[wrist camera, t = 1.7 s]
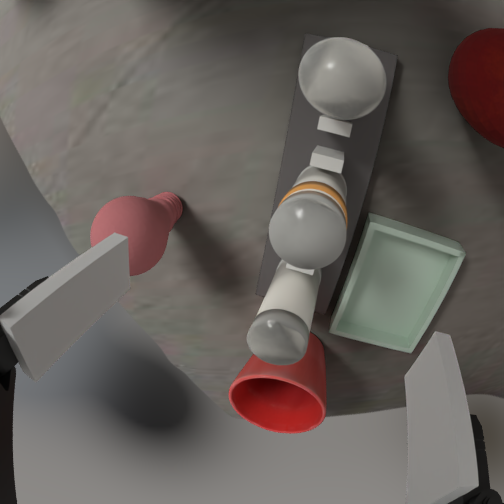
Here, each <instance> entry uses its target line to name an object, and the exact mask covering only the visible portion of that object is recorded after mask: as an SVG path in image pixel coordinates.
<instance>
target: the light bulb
mask: <svg viewBox="0 0 504 504" xmlns="http://www.w3.org/2000/svg"><path fill="white" fill-rule="evenodd" d="M182 210H183V208H182V203H181V201H180V199H179V198H178V197H177V196H176V195H175V194H173V193H171V192H163V193H161V194H159V195H156V196H155V197H153V198H149V199H146V198H142V197H136V196H123V197H119V198H116V199H114V200H112V201H110V202H108V203H107V204H106V205H104V206H103V207H102V208H101V209H100V211H99V212H98V213H97V215H96V217H95V219H94V221H93V224H92V228H91V235H90V236H91V245H92V247H93V246H95V245H96V244H98V243H99V242H101V241H102V240H104V239H105V238H107V237H109V236H110V235H112V234H113V233H117V234H120V235H123V236H126V237H128V251H129V273H130V276H134V275H139V274H142V273H145V272H146V271H148V270H150V269H151V268H152V267H154V266H155V265H156V264H157V262H158V261H159V260H160V259H161V257H162V255H163V254H164V251H165V248H166V245H167V240H168V236H169V232H170V231H171V229H172V228H173V225H174V224H175V223H176V221H177V220H178V219H179V218H180V217H181V215H182Z"/></svg>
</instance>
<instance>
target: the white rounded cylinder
mask: <svg viewBox="0 0 504 504" xmlns="http://www.w3.org/2000/svg"><path fill="white" fill-rule="evenodd" d="M298 76H299V84H300V87H301V90H302V92H303V95H304V96H305V98H306V99H307V101H308V102H309V103H310V104H311V105H312V106H313V107H314V108H315V109H316V110H318V111H319V112H321V113H322V114H324V115H327V116H329V117H332V118H335V119H341V120H352V119H357V118H360V117H363V116H365V115H367V114H369V113H370V112H372V111H373V110H374V109H375V108H376V107H377V106H378V105H379V104H380V102H381V101H382V99H383V97H384V94H385V91H386V73H385V70H384V67H383V65H382V62H381V61H380V59H379V58H378V56H377V55H376V54H375V53H374V52H373V51H372V50H371V49H370V48H369V47H367V46H366V45H364V44H363V43H361V42H359V41H356V40H353V39H350V38H345V37H333V38H328V39H325V40H322V41H320V42H318V43H316V44H315V45H313V46H312V47H311V48H310V49H309V50H308V51H307V52H306V53H305V55H304V56H303V58H302V60H301V63H300V66H299V73H298Z"/></svg>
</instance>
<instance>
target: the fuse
mask: <svg viewBox="0 0 504 504" xmlns="http://www.w3.org/2000/svg"><path fill="white" fill-rule="evenodd" d="M286 264H287V263H286V262H285V261H284V260H282V259H281V261H280V263H279V265H278V267H277V270H276V273H275V275H274V278H273V280H272V282H271V284H270V287H269V289H268V291H267V293H266V296H265V298H264V300H263V302H262V304H261V307H260V309H259V311H258V313H257V316H256V317H255V319H254V321H253V323H252V325H251V327H250V329H249V332H248V334H247V344H248V346H249V348H250V350H251V351H252V352H253V353H254V355H256V356H257V357H258V358H260V359H261V360H263V361H265V362H267V363H270V364H274V365H290V364H294V363H296V362H298V361H299V360H301V359H302V358H303V357H304V355H305V353H306V350H307V345H308V341H309V333H310V329H311V324H312V319H313V314H314V310H315V305H316V300H317V295H318V289H319V285H320V282H321V276H322V268H319V269H314V273H313V275H310V274H306V273H303V272H299V271H295V270H292V269H288V268H286Z"/></svg>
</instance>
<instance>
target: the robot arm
mask: <svg viewBox="0 0 504 504" xmlns="http://www.w3.org/2000/svg"><path fill="white" fill-rule="evenodd" d="M130 289H131V288H130V273H129V251H128V237H126V236H123V235H120V234H117V233H113V234H112V235H110V236H109V237H107V238H105V239H104V240H102V241H101V242H99V243H98V244H96V245H95V246H93V247H92V248H90V249H89V250H87V251H86V252H85V253H83V254H82V255H80V256H79V257H77V258H76V259H74V260H73V261H72V262H70V263H69V264H67V265H66V266H64V267H63V268H62V269H60V270H59V271H57V272H56V273H55V274H53V275H52V276H50V277H48V276H47V277H45V278H42V279H39V280H37V281H35V282H34V283H32V284H31V285H30V286H29V287H27V289H26V290H25V289H24V290H23V291H22V292H21V293H19V295H16V296H15V297H14V298H12V299H11V300H10V301H9V302H7V303H6V304H5V305H4V306H2V307H1V308H0V504H17V499H16V490H15V481H14V467H13V440H12V439H13V431H12V430H13V401H14V389H15V378H16V368H15V367H14V366H15V365H16V364H17V363H18V362H19V364H20V366H21V368H22V370H23V372H24V373H25V374H26V375H27V376H29V377H30V378H31V379H33V380H34V381H35V382H37V381H38V380H39V379H40V378H41V377H42V376H43V375H44V374H45V372H46V371H48V369H49V368H50V367H51V366H52V365H53V364H54V363H55V362H56V361H57V360H58V359H59V358H60V357H61V356H62V355H63V354H64V353H65V352H66V351H67V350H68V349H69V348H70V347H71V346H72V345H73V344H74V343H75V342H76V341H77V340H78V339H79V338H80V337H81V336H82V335H83V334H84V333H85V332H86V331H87V330H88V329H89V328H90V327H91V326H92V325H93V324H94V323H95V322H96V321H97V320H98V319H99V318H100V317H101V316H102V315H103V314H104V313H105V312H106V311H107V310H108V309H109V308H111V307H112V306H113V305H114V304H115V303H116V302H117V301H118V300H119V299H120V298H121V297H122V296H123V295H124V294H125V293H127V292H128V291H129V290H130ZM404 377H405V390H406V406H407V434H408V466H407V491H406V504H504V503H502V500H501V497H500V495H499V494H498V492H496V491H495V490H492V489H490V483H489V473H488V464H487V456H486V451H485V442H484V441H483V440H484V436H483V430H482V426H481V424H480V422H479V420H478V419H477V416H476V415H471V414H469V408H468V403H467V398H466V394H465V389H464V385H463V380H462V376H461V372H460V368H459V365H458V361H457V357H456V353H455V350H454V346H453V343H452V340H451V336H450V335H448V334H445V333H441V332H437V331H435V332H434V334H433V335H432V337H431V339H430V340H429V342H428V343H427V345H426V346H425V348H424V349H423V351H422V352H421V354H420V355H419V357H418V358H417V359H416V361H415V362H414V364H413V365H412V366H411V368H410V369H409V371H408V372H407V373H406V375H405V376H404Z"/></svg>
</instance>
